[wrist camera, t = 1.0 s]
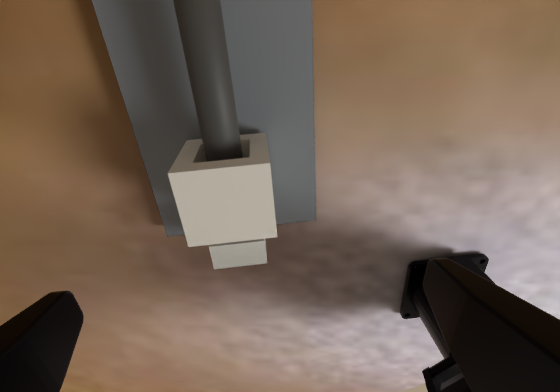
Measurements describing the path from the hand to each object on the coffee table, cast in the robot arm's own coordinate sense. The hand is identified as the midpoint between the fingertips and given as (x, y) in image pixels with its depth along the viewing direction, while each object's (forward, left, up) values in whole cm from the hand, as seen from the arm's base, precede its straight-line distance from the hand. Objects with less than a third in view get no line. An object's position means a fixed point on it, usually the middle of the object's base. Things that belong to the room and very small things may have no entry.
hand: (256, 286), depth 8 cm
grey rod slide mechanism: (+3, +1, -12) cm, 13 cm away
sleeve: (-1, +1, -11) cm, 11 cm away
